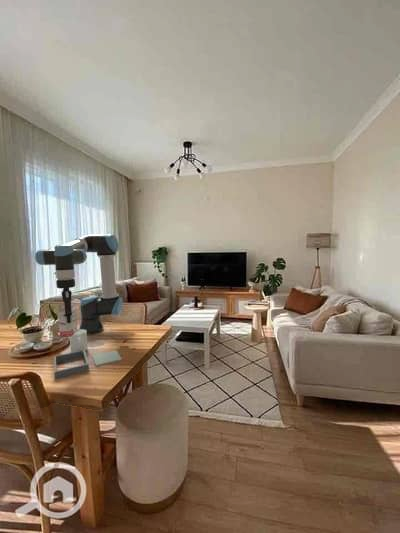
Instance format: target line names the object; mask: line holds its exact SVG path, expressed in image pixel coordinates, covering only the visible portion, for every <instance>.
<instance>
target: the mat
mask: <svg viewBox="0 0 400 533" xmlns="http://www.w3.org/2000/svg"><path fill="white" fill-rule="evenodd" d="M91 358H92V359H93V362H94V366H95V367H96V368H97V367H100V366H105V365H108V364H113V363H117V362H121V361H122V360H123V359H122V357H121V355H120V353H119V352H118V351H117V350H113V351H108V352H103V353H99V354H94V355H92V356H91Z"/></svg>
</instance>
